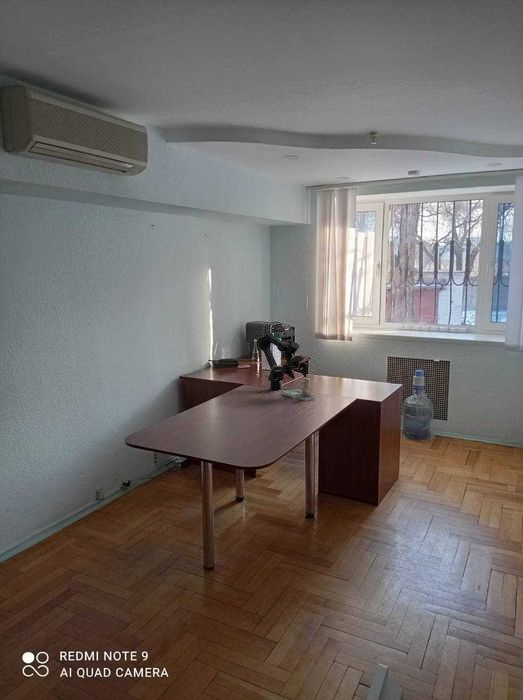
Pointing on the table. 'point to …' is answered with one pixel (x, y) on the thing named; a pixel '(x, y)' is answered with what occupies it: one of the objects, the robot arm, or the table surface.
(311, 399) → the dowel holder
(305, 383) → the dowel
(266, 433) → the table surface
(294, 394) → the tray
